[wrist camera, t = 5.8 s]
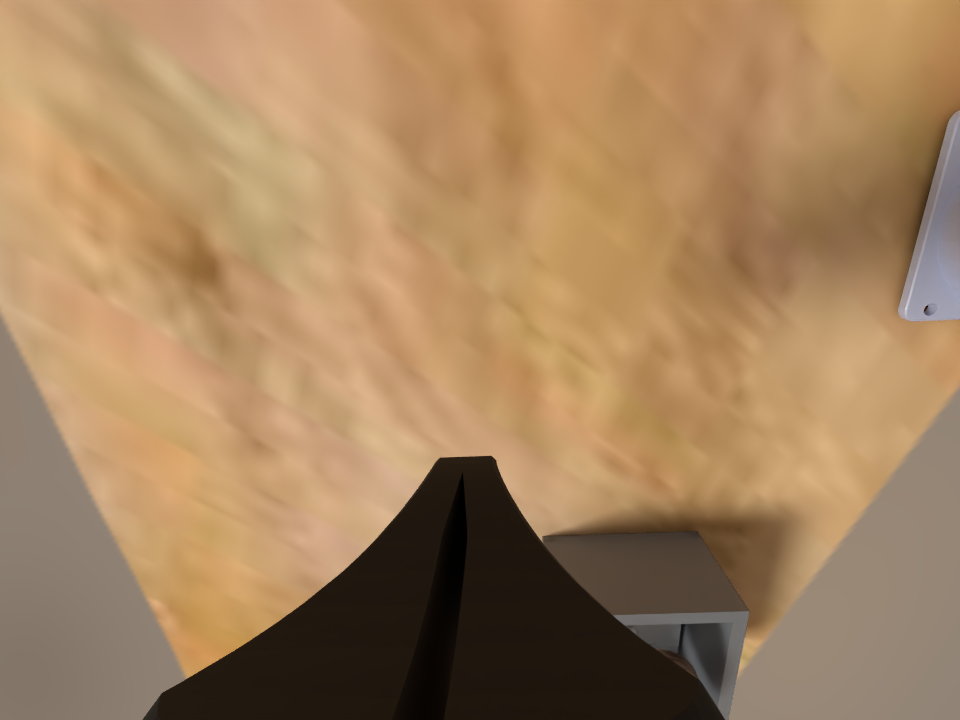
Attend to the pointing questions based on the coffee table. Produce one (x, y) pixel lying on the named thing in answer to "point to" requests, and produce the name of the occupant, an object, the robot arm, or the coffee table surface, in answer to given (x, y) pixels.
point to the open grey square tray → (665, 595)
